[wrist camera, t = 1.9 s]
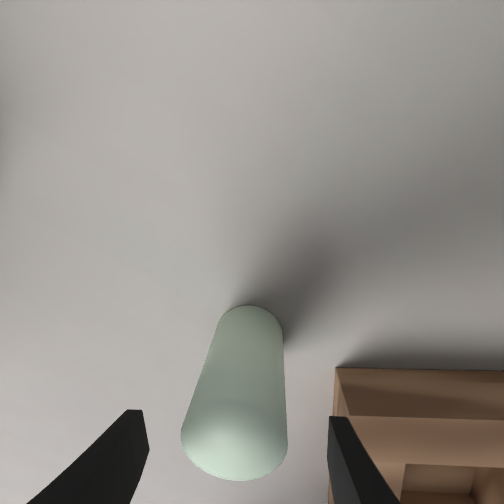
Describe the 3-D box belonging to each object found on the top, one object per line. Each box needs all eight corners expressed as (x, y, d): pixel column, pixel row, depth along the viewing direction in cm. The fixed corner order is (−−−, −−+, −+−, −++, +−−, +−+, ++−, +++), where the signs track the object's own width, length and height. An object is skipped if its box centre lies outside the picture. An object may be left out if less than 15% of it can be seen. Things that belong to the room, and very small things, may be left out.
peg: (282, 363, 18) (287, 483, 11) (218, 362, 18) (186, 478, 12) (282, 305, 17) (287, 399, 10) (213, 305, 17) (175, 396, 10)
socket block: (498, 511, 20) (542, 581, 17) (327, 502, 21) (338, 565, 18) (540, 371, 17) (606, 423, 13) (335, 367, 18) (349, 415, 14)
